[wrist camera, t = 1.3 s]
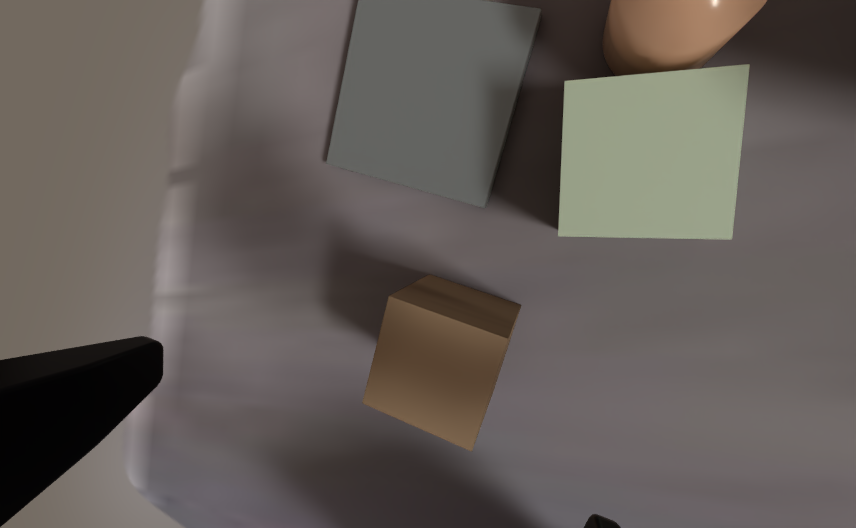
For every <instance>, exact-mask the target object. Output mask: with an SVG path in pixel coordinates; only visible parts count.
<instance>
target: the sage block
mask: <svg viewBox="0 0 856 528" xmlns="http://www.w3.org/2000/svg"><path fill="white" fill-rule="evenodd" d="M749 66H750V64H745V65H734V66H723V67H712V68H701V69H690V70H679V71H668V72H657V73H646V74H635V75H625V76H614V77H603V78H592V79H581V80H570V81H565V84H564V109H563V133H562V157H561V181H560V205H559V229H558V236H569V237H623V238H678V239H732V234H733V224H734V214H735V205H736V195H737V185H738V175H739V165H740V155H741V145H742V135H743V126H744V116H745V106H746V96H747V86H748V76H749Z"/></svg>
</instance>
